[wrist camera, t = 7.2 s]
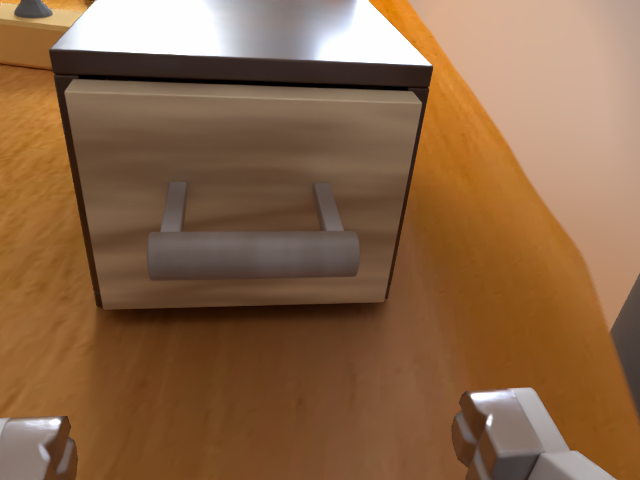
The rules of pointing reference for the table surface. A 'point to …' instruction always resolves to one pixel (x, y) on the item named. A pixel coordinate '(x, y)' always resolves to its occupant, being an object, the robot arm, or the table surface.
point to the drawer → (241, 189)
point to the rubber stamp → (31, 32)
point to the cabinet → (236, 55)
